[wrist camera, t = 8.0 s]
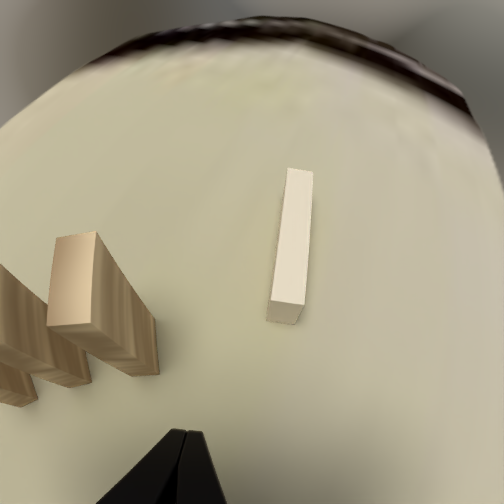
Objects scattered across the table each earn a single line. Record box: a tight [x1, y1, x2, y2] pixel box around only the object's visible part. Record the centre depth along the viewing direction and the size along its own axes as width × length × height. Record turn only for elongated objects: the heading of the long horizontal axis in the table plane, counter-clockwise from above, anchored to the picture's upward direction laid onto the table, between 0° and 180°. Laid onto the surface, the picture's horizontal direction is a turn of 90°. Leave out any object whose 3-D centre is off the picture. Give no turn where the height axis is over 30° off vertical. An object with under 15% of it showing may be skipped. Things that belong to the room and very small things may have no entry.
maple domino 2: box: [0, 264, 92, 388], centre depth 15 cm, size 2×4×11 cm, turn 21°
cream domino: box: [266, 168, 313, 325], centre depth 23 cm, size 2×4×11 cm
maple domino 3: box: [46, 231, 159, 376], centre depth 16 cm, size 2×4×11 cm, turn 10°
